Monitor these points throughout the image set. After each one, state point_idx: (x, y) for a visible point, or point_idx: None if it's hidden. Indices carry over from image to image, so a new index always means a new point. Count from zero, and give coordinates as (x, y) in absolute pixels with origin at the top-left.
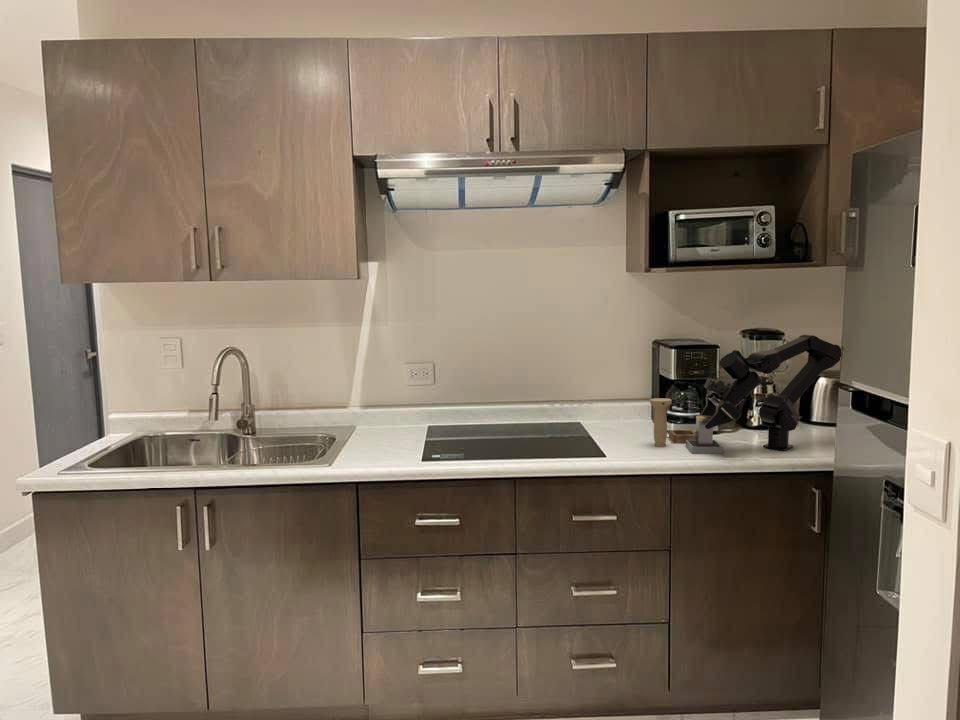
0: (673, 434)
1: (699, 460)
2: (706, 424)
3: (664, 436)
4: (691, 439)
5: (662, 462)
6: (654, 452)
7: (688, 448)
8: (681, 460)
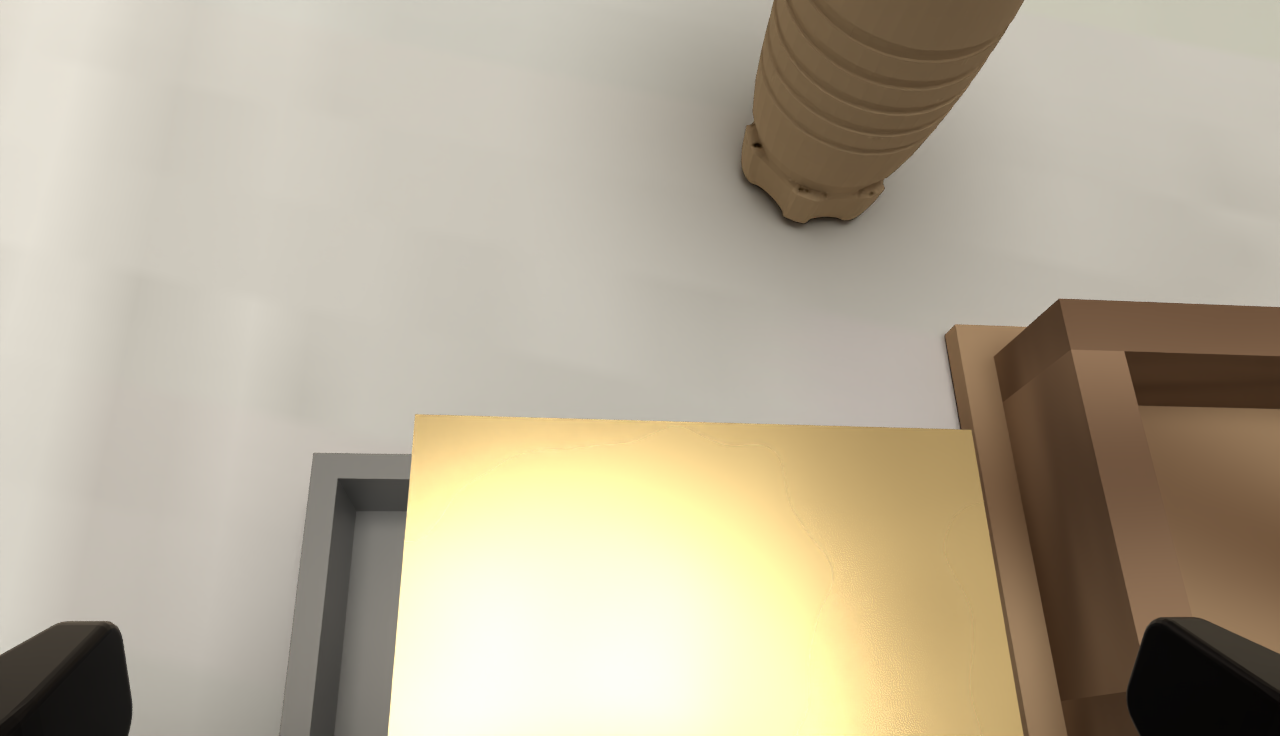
0: (1122, 311)
1: (9, 547)
2: (17, 665)
3: (789, 85)
4: (1082, 626)
5: (22, 38)
6: (540, 58)
7: None
8: (71, 281)
